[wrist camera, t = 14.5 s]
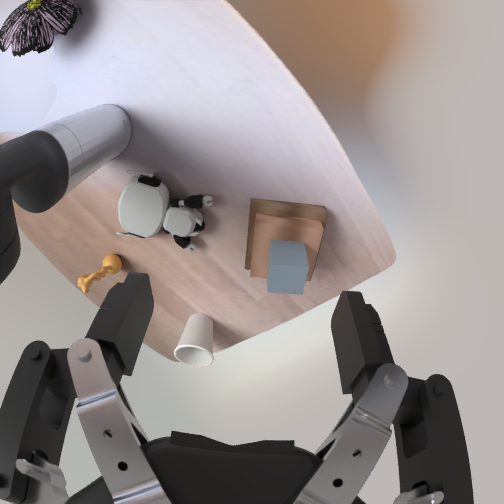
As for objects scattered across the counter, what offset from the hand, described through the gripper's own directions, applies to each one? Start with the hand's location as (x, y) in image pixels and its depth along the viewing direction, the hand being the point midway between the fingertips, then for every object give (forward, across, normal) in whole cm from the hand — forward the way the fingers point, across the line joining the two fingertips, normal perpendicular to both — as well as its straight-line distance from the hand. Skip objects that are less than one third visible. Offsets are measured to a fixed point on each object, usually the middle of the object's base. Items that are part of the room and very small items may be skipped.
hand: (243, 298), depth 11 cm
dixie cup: (+33, +9, +42) cm, 54 cm away
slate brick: (+27, -6, +17) cm, 33 cm away
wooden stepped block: (+33, -6, +17) cm, 38 cm away
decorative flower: (+33, +35, -23) cm, 54 cm away
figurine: (+33, +27, +25) cm, 50 cm away
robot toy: (+34, +14, +14) cm, 39 cm away
